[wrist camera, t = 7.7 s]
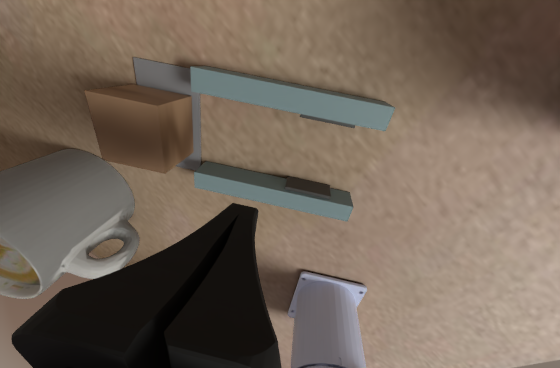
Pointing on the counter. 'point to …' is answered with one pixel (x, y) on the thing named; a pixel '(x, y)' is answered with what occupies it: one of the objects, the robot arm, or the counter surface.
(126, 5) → the counter surface
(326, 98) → the clamp jaws
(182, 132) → the walnut block
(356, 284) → the robot arm
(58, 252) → the coffee mug
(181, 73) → the felt pad
